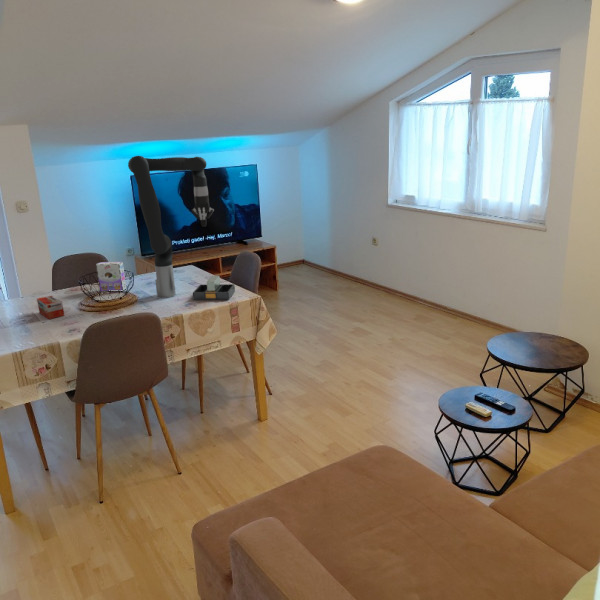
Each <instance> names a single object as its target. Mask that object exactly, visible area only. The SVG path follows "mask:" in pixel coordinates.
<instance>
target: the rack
mask: <svg viewBox="0 0 600 600" xmlns="http://www.w3.org/2000/svg"><path fill="white" fill-rule="evenodd" d="M235 287H236V286H235V283H230V284H227V283H225V284H221V283H220V288H219V289H218V290H217V292H208V290H207V284H199V285H198V287H197V288H196V289H195V290H194V291H193V292H192V298H193V301H229V300H231V298H232V296H233V295H234V294H235V292H236V288H235Z"/></svg>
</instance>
